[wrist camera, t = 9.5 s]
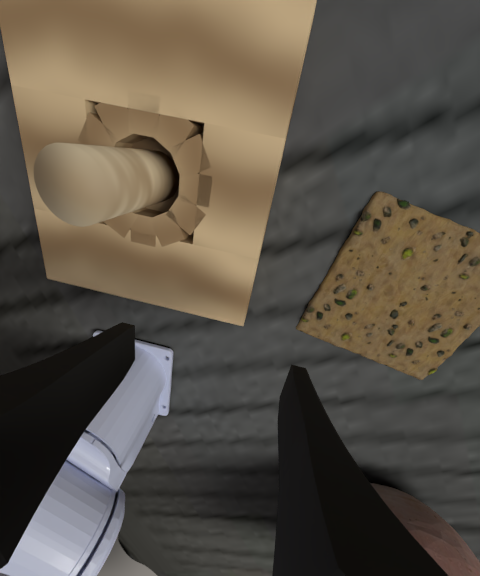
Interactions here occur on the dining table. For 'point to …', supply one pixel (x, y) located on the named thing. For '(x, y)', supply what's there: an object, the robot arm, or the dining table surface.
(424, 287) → the cookie
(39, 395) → the robot arm
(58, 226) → the bore board
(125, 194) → the dowel
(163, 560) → the dining table surface
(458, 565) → the ceramic pitcher
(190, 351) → the dining table surface
